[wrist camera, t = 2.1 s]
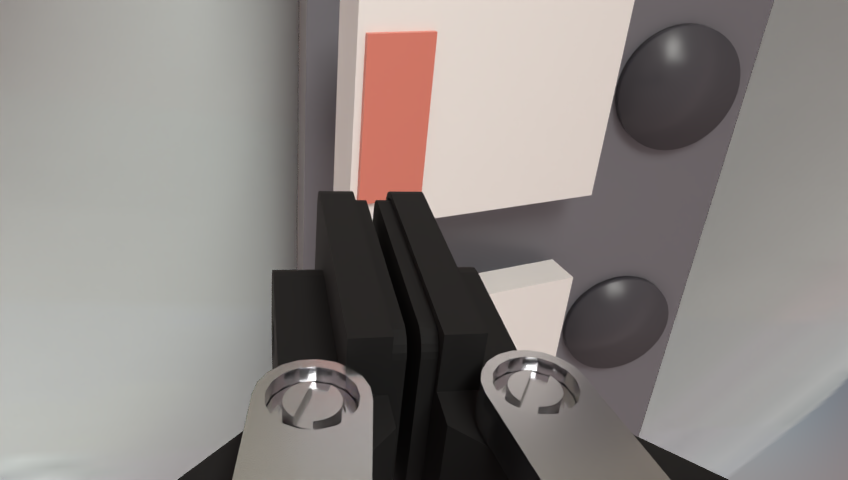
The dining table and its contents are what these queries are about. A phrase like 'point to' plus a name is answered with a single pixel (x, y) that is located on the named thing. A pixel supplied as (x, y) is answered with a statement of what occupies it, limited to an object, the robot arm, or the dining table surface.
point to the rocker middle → (475, 99)
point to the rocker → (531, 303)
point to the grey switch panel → (612, 192)
